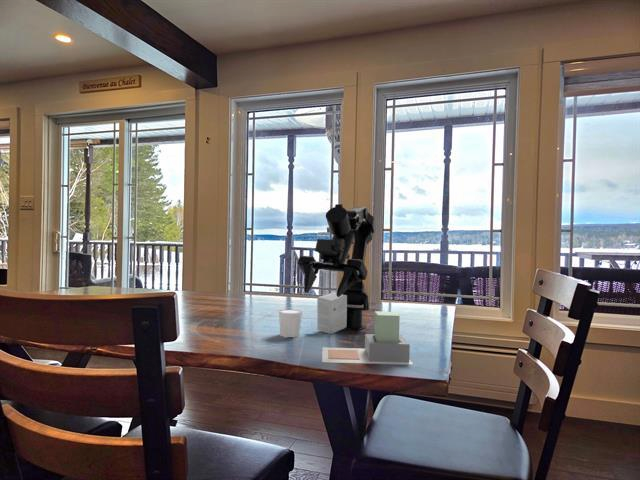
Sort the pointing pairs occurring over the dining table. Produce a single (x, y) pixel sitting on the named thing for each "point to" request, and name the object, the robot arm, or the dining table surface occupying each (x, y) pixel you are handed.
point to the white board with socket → (371, 352)
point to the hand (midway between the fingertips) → (321, 294)
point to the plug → (386, 327)
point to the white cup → (290, 323)
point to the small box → (331, 313)
